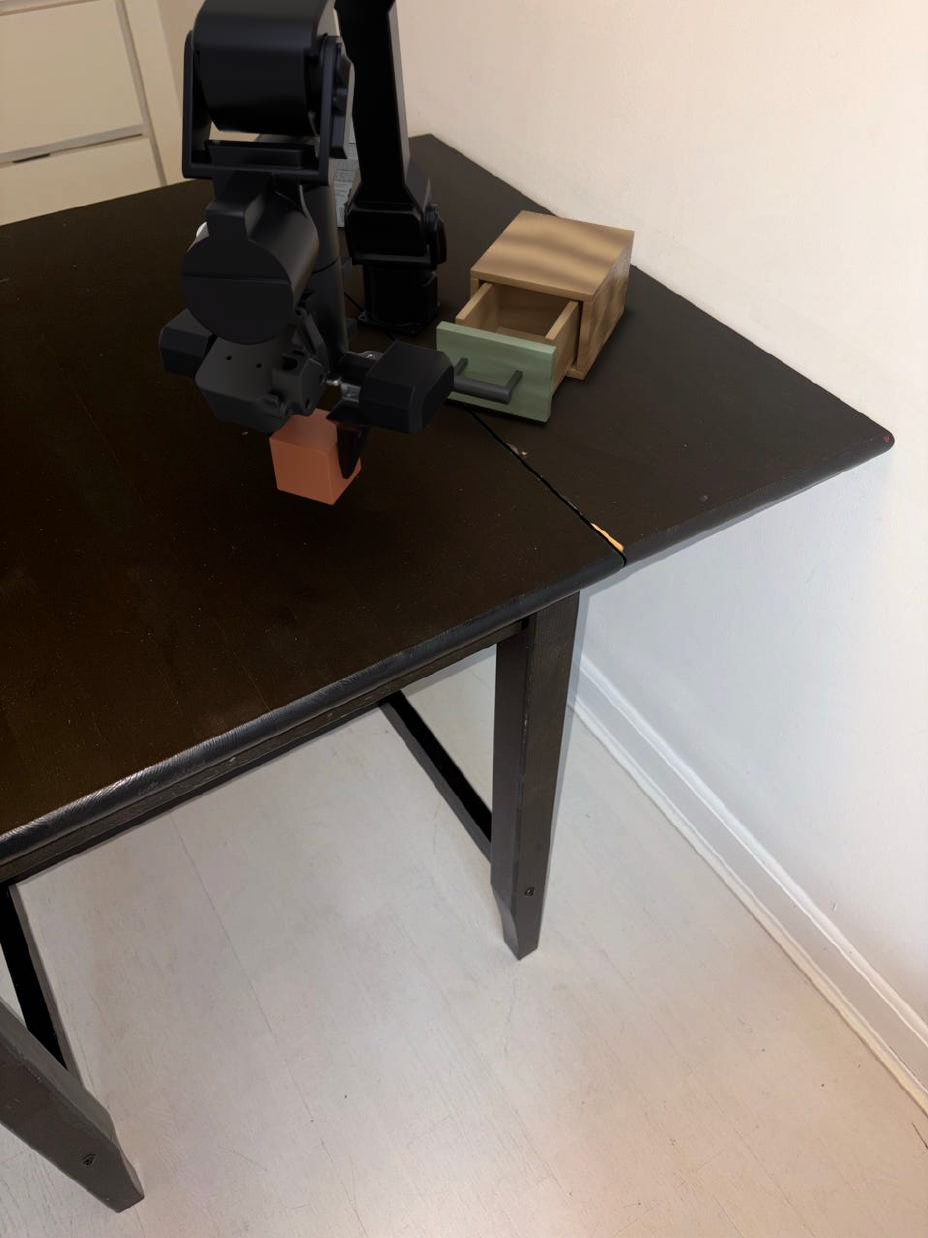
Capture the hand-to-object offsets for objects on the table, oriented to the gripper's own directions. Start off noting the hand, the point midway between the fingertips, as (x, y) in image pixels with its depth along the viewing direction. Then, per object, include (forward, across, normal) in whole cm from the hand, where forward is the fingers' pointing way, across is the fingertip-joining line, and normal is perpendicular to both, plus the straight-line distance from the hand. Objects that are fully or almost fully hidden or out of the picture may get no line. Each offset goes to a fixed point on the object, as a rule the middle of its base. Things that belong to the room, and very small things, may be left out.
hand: (318, 467), depth 67 cm
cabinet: (+8, +5, +37) cm, 38 cm away
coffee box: (+8, -25, +54) cm, 60 cm away
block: (+1, 0, 0) cm, 1 cm away
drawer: (+7, +5, +25) cm, 27 cm away
